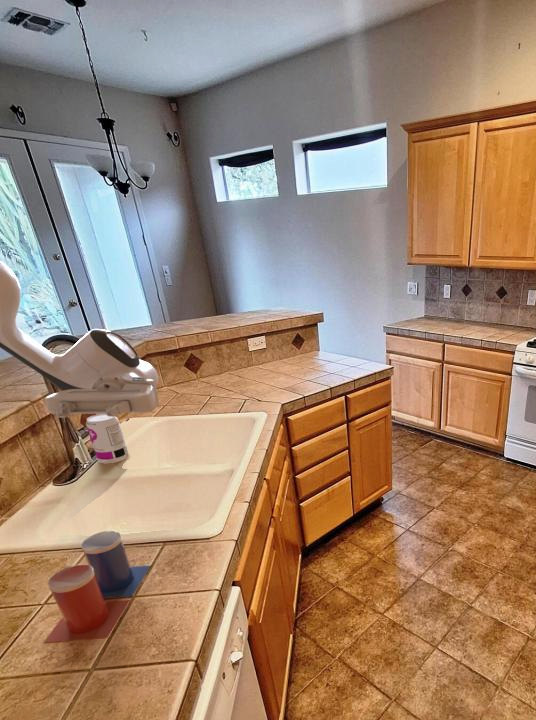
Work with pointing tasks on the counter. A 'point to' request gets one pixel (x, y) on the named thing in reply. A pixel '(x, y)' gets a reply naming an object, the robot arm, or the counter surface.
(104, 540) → the blue tumbler
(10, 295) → the robot arm
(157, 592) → the counter surface
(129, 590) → the slate-blue mat
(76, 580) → the red tumbler
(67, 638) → the terracotta mat
